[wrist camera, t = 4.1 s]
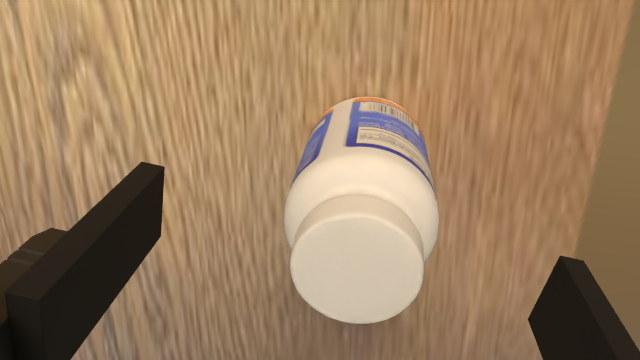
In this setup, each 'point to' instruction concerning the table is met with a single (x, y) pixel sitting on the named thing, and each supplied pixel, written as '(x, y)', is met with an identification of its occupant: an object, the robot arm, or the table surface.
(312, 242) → the pill bottle
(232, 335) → the table surface
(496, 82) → the table surface
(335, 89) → the table surface
